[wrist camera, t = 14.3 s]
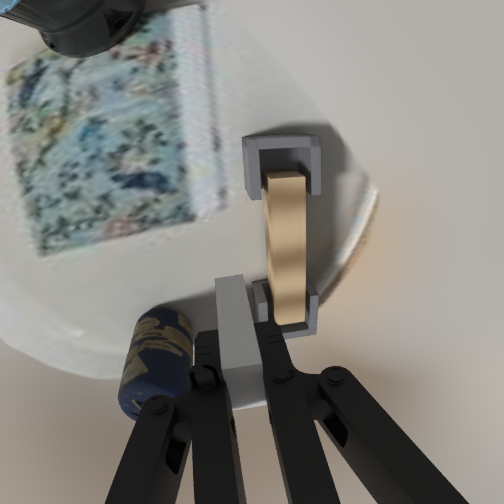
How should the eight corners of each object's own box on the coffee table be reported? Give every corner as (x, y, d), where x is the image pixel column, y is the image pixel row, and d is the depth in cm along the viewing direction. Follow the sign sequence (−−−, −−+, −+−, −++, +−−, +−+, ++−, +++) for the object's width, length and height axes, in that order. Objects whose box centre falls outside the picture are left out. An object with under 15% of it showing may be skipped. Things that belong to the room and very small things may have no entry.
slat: (261, 170, 39) (270, 179, 34) (292, 168, 40) (305, 176, 34) (269, 302, 48) (276, 325, 42) (294, 298, 48) (304, 321, 43)
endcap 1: (241, 137, 38) (247, 139, 33) (305, 133, 39) (320, 136, 33) (245, 189, 41) (251, 200, 35) (306, 184, 42) (321, 194, 36)
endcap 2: (305, 311, 50) (316, 334, 45) (255, 319, 50) (260, 342, 44) (306, 274, 47) (318, 295, 42) (252, 281, 47) (258, 303, 41)
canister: (169, 294, 46) (155, 381, 29) (205, 334, 50) (207, 423, 33) (125, 321, 47) (99, 406, 31) (161, 357, 51) (151, 443, 34)
